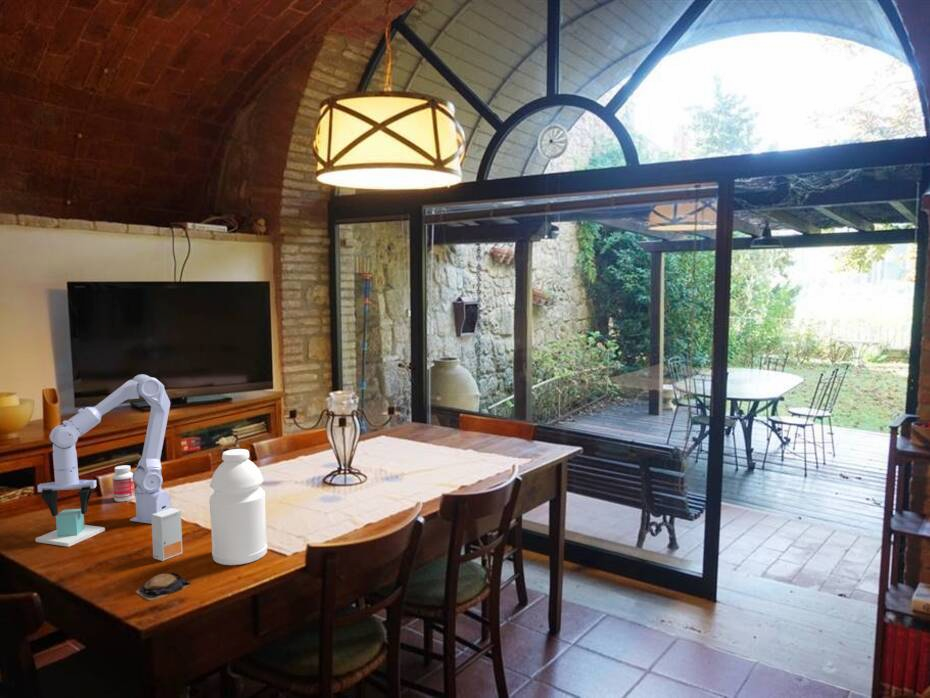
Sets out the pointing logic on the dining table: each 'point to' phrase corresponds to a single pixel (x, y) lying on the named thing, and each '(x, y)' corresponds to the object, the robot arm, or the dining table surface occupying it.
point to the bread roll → (162, 586)
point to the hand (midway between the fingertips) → (69, 514)
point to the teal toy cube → (69, 522)
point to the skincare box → (166, 534)
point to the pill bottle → (123, 484)
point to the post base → (70, 540)
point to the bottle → (237, 510)
